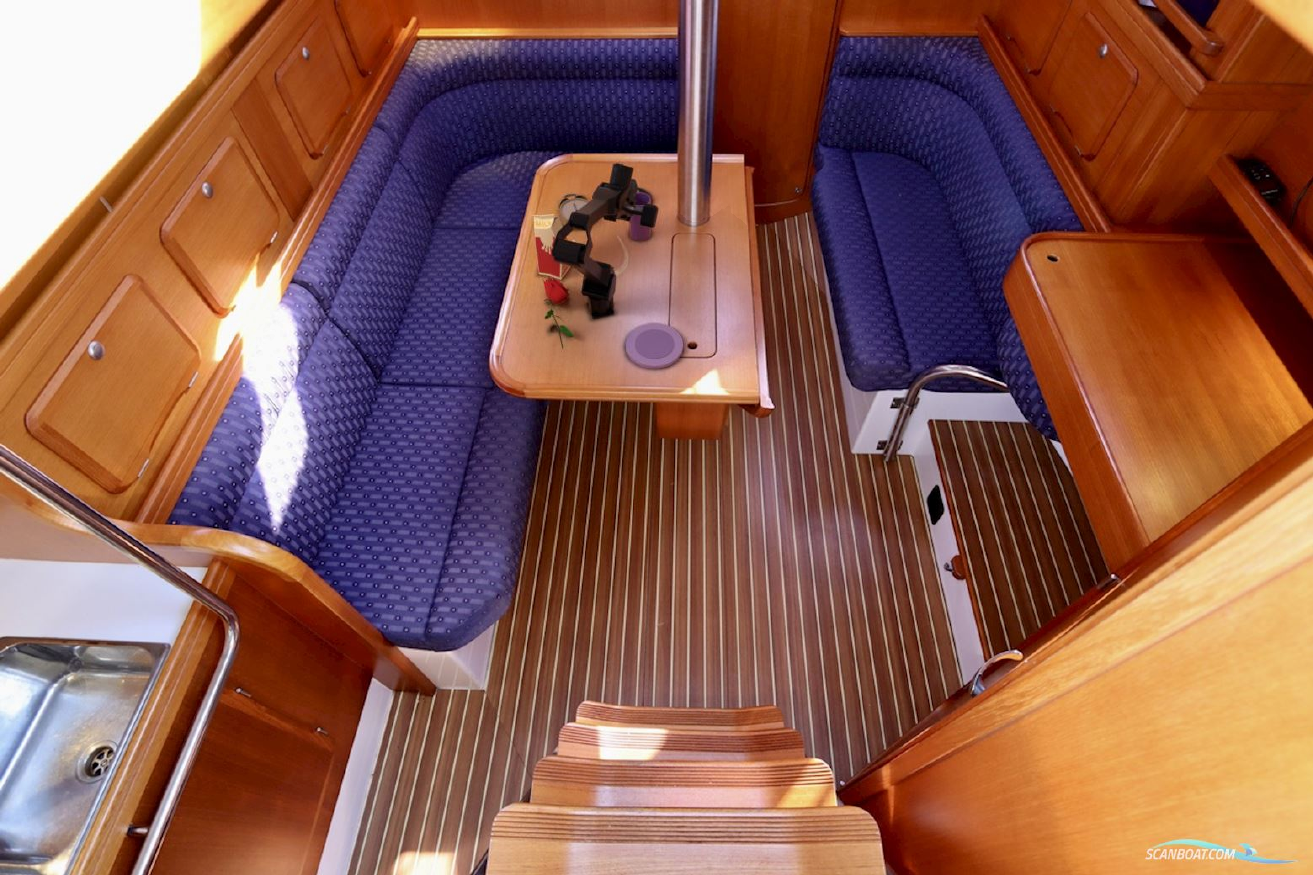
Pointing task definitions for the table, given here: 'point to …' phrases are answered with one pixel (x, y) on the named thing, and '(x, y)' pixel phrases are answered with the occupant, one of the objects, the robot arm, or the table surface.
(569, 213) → the alarm clock
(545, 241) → the milk carton
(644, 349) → the plate
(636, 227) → the tumbler
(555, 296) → the flower
